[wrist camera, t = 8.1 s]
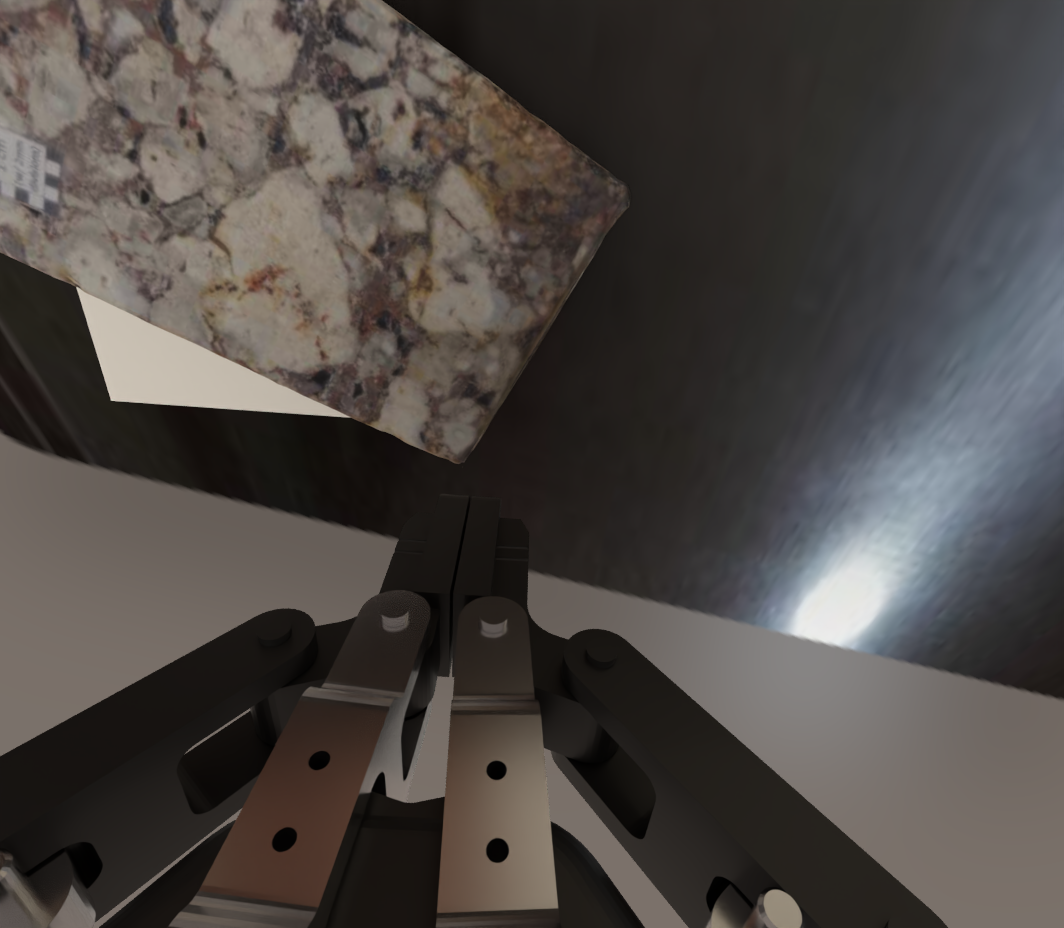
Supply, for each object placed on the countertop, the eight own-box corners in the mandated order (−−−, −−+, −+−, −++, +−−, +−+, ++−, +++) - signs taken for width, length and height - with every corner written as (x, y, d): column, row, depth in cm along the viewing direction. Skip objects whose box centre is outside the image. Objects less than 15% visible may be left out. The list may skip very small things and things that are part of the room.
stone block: (454, 495, 22) (-143, 197, 17) (459, 432, 29) (27, 201, 23) (653, 178, 18) (-46, -354, 13) (608, 186, 25) (129, -166, 19)
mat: (491, 179, 23) (490, 180, 23) (482, 422, 29) (481, 426, 28) (41, 141, 23) (31, 140, 22) (117, 396, 28) (111, 400, 28)
